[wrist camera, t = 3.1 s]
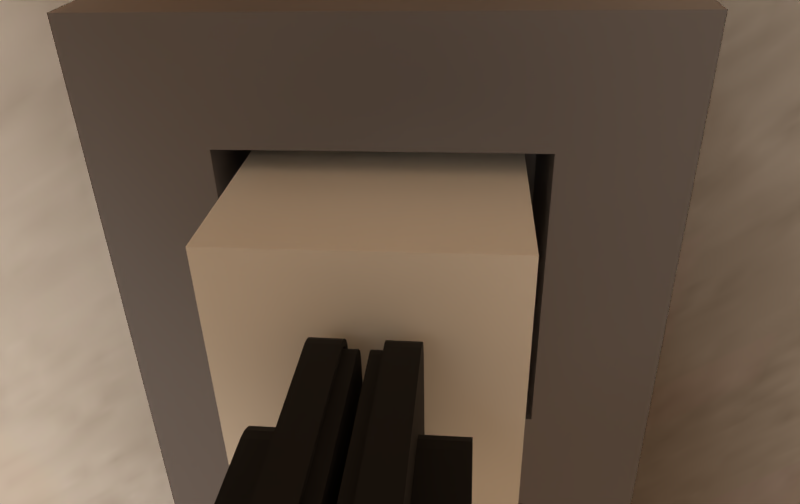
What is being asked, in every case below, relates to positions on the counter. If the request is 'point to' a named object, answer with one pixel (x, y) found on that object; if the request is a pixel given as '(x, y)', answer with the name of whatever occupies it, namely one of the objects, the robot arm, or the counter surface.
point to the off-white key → (376, 286)
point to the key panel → (409, 132)
